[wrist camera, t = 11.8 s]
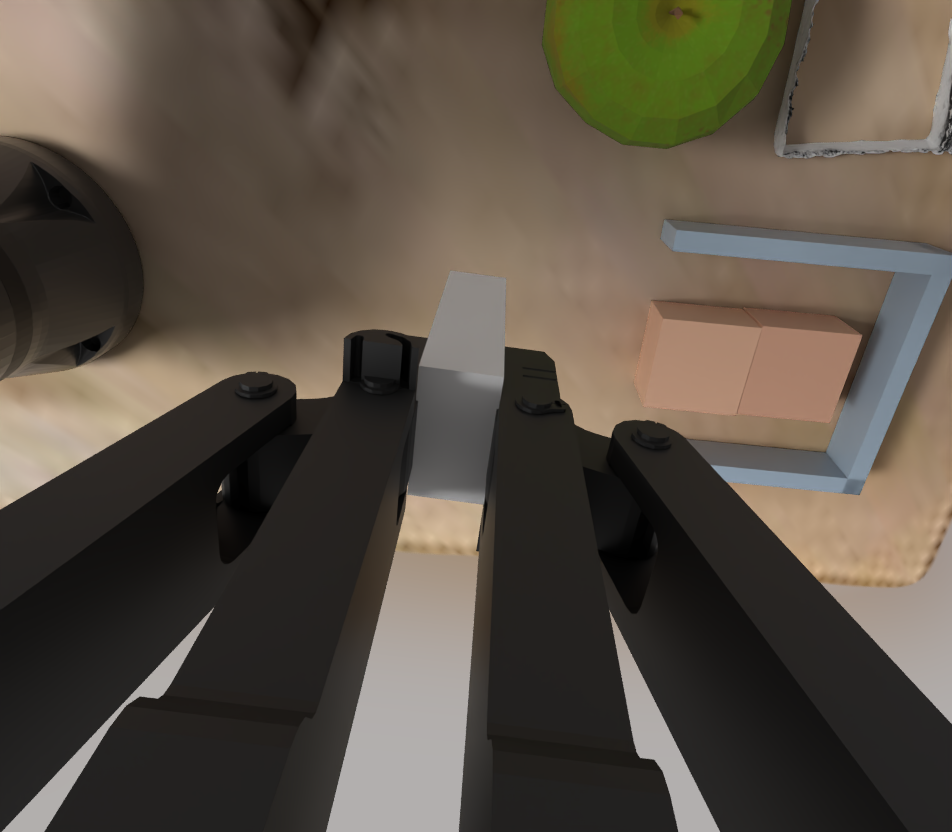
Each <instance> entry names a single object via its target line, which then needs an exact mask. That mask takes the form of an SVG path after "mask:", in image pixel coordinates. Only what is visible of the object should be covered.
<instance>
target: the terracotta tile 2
mask: <svg viewBox="0 0 952 832" xmlns="http://www.w3.org/2000/svg"><path fill="white" fill-rule="evenodd" d="M743 310H744V311H745V312H746V313H747V314H748V315H749V316H750V317H751V318H752V319H753V320H754V321H755V322H756V323H757V324H758V325H759V326H760V327H761V328H762V330H761V333H760V337H759V340H758V343H757V347H756V350H755V353H754V356H753V360H752V363H751V366H750V370H749V373H748V376H747V380H746V383H745V386H744V390H743V393H742V396H741V400H740V403H739V406H738V410H737V413H736V414H741V415H751V416H762V417H772V418H783V419H793V420H803V421H814V422H824V423H830V421H831V419H832V416H833V413H834V411H835V408H836V405H837V403H838V400H839V397H840V395H841V392H842V389H843V387H844V384H845V381H846V379H847V376H848V373H849V371H850V368H851V365H852V363H853V360H854V357H855V355H856V352H857V349H858V347H859V344H860V341H861V338H862V336H863V335H861V334H860V333H859V332H857V331H856V330H854V329H853V328H851V327H850V326H849V325H847V324H846V323H844V322H843V321H842V320H840V319H839V318H837V317H836V316H832V315H821V314H810V313H800V312H789V311H778V310H767V309H756V308H746V307H743Z"/></svg>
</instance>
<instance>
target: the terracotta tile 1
mask: <svg viewBox="0 0 952 832" xmlns="http://www.w3.org/2000/svg"><path fill="white" fill-rule="evenodd" d="M761 330H762V328H761V327H760V326H759V325H758V324H757V323H756V322H755V321H754V320H753V319H752V318H751V317H750V316H749V315H748V314H747V313H746V312H745V311H744V310H743V309H737V308H726V307H716V306H705V305H695V304H684V303H674V302H663V301H653V300H651V305H650V310H649V315H648V319H647V324H646V329H645V333H644V338H643V343H642V348H641V352H640V357H639V362H638V366H637V371H636V376H635V381H634V384H635V387H636V389H637V392H638V394H639V397H640V400H641V402H642V405H643V407H651V408H661V409H672V410H682V411H692V412H702V413H712V414H722V415H732V416H736V413H737V410H738V406H739V403H740V400H741V396H742V393H743V390H744V386H745V383H746V380H747V376H748V373H749V370H750V366H751V363H752V360H753V356H754V353H755V350H756V347H757V343H758V340H759V337H760V333H761Z"/></svg>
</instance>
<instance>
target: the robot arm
mask: <svg viewBox="0 0 952 832" xmlns="http://www.w3.org/2000/svg"><path fill="white" fill-rule="evenodd" d="M142 296H143V274H142V267H141V262H140V257H139V254H138V250H137V247H136V244H135V242H134V239H133V237H132V234H131V232H130V230H129V228H128V226H127V224H126V222H125V221H124V219H123V217H122V216H121V214H120V212H119V211H118V209H117V208H116V207H115V205H114V204H113V202H112V201H111V200H110V199H109V197H108V196H107V195H106V194H105V192H104V191H103V190H102V189H101V188H100V187H99V186H98V185H97V184H96V183H95V182H94V181H93V180H92V179H91V178H90V177H89V176H88V175H86V174H85V173H84V172H83V171H82V170H80V169H79V168H78V167H76V166H75V165H74V164H72V163H71V162H69V161H68V160H66V159H65V158H63V157H62V156H60V155H58V154H56V153H55V152H53V151H51V150H49V149H47V148H44V147H42V146H40V145H37V144H34V143H32V142H29V141H25V140H22V139H17V138H12V137H5V136H0V381H1V380H3V379H5V378H13V377H20V376H28V375H36V374H44V373H52V372H59V371H65V370H70V369H73V368H76V367H79V366H82V365H85V364H87V363H89V362H91V361H93V360H95V359H96V358H98V357H100V356H101V355H103V354H104V353H106V352H108V351H109V350H111V349H112V348H114V347H115V346H116V345H117V344H119V343H120V342H121V341H122V340H123V339H124V338H125V337H126V335H127V334H128V333H129V332H130V330H131V329H132V327H133V325H134V323H135V321H136V319H137V317H138V314H139V311H140V307H141V303H142ZM505 309H506V278H503V277H495V276H488V275H480V274H473V273H465V272H458V271H451V270H450V273H449V276H448V279H447V282H446V285H445V288H444V291H443V294H442V297H441V300H440V303H439V306H438V309H437V312H436V315H435V318H434V321H433V324H432V328H431V331H430V334H429V337H428V338H424V337H416V336H409V335H405V334H402V333H398V332H393V331H388V330H362V331H358V332H354V333H351V334H349V335H348V336H346V337H345V338H344V356H343V382H342V383H341V385H340V387H339V389H338V390H337V392H336V394H335V396H333V397H328V398H319V399H296V385H295V384H294V383H293V382H291V381H290V380H289V379H287V378H284V377H282V376H279V375H274V374H268V373H267V372H258V373H256V372H247V373H245V374H241V375H235V376H232V377H229V378H227V379H224V380H222V381H220V382H219V383H217V384H215V385H214V386H212V387H210V388H208V389H207V390H205V391H203V392H202V393H200V394H198V395H196V396H195V397H193V398H191V399H190V400H188V401H186V402H184V403H183V404H181V405H179V406H178V407H176V408H174V409H172V410H171V411H169V412H167V413H166V414H164V415H162V416H160V417H159V418H157V419H155V420H153V421H152V422H150V423H148V424H147V425H145V426H143V427H141V428H140V429H138V430H136V431H135V432H133V433H131V434H129V435H128V436H126V437H124V438H123V439H121V440H119V441H117V442H116V443H114V444H112V445H111V446H109V447H107V448H105V449H104V450H102V451H100V452H99V453H97V454H95V455H93V456H92V457H90V458H88V459H87V460H85V461H83V462H81V463H80V464H78V465H76V466H75V467H73V468H71V469H69V470H68V471H66V472H64V473H63V474H61V475H59V476H57V477H56V478H54V479H52V480H51V481H49V482H47V483H45V484H44V485H42V486H40V487H39V488H37V489H35V490H33V491H32V492H30V493H28V494H26V495H25V496H23V497H21V498H20V499H18V500H16V501H14V502H13V503H11V504H9V505H8V506H6V507H4V508H2V509H1V510H0V832H2V831H3V830H4V829H5V827H6V826H7V825H8V824H9V823H10V822H11V821H12V820H13V819H14V818H15V817H16V816H17V815H18V814H19V813H20V811H22V810H23V808H24V807H25V806H26V805H27V804H28V803H29V802H30V801H31V800H32V799H33V798H34V797H35V796H36V795H37V794H38V792H40V791H41V789H42V788H43V787H44V786H45V785H46V784H47V783H48V782H49V781H50V780H51V779H52V778H53V777H54V776H55V775H56V774H57V772H58V771H59V770H60V769H61V768H62V767H63V766H64V765H65V764H66V763H67V762H68V761H69V760H70V759H71V758H72V757H73V756H74V755H75V754H76V752H77V751H78V750H79V749H80V748H81V747H82V746H83V745H84V744H85V743H86V742H87V741H88V740H89V738H91V737H92V735H93V734H94V733H95V732H96V731H97V730H98V729H99V728H100V727H101V726H102V725H103V724H104V723H105V721H107V720H108V718H110V716H111V715H112V714H113V713H114V712H115V711H116V710H117V709H118V708H119V707H120V706H121V705H122V703H124V702H125V700H127V699H128V697H129V696H130V695H131V694H132V693H133V692H134V691H135V690H136V689H137V688H138V687H139V686H140V685H141V684H142V683H143V682H144V681H145V679H146V678H147V677H148V676H149V675H150V674H151V673H152V672H153V671H154V670H155V669H156V668H157V667H158V666H159V665H160V664H161V662H162V661H163V660H164V659H165V658H166V657H167V656H168V655H169V654H170V653H171V652H172V651H173V650H174V649H175V648H176V647H177V646H178V645H179V644H180V642H181V641H182V640H183V639H184V638H185V637H186V636H187V635H188V634H189V633H190V632H191V631H192V630H193V629H194V628H195V627H196V626H197V625H198V623H199V622H200V621H201V620H202V619H203V618H204V617H205V616H206V615H207V614H208V613H209V612H210V611H211V610H212V609H213V608H214V609H213V611H212V613H211V614H210V616H209V618H208V620H207V622H206V623H205V625H204V627H203V629H202V630H201V632H200V634H199V636H198V637H197V639H196V641H195V643H194V644H193V646H192V648H191V650H190V651H189V653H188V655H187V657H186V658H185V660H184V662H183V664H182V666H181V668H180V669H179V671H178V673H177V674H176V676H175V678H174V680H173V681H172V683H171V685H170V686H169V688H168V689H167V691H166V692H165V693H164V695H163V696H161V697H160V698H158V699H155V698H147V697H139V698H137V699H136V700H134V701H133V702H131V703H130V704H128V705H127V706H126V707H125V708H124V709H123V711H122V712H121V713H120V714H119V716H118V717H117V719H116V720H115V721H114V722H113V724H112V725H111V726H110V728H109V729H108V731H107V733H106V734H105V736H104V737H103V739H102V740H101V742H100V744H99V745H98V747H97V749H96V750H95V752H94V753H93V755H92V757H91V758H90V760H89V761H88V763H87V765H86V766H85V768H84V769H83V771H82V773H81V774H80V776H79V777H78V779H77V781H76V782H75V784H74V785H73V787H72V789H71V790H70V792H69V793H68V795H67V797H66V798H65V800H64V801H63V803H62V805H61V806H60V808H59V809H58V811H57V813H56V814H55V816H54V817H53V819H52V821H51V822H50V824H49V825H48V827H47V829H46V830H45V832H326V829H327V825H328V821H329V817H330V813H331V808H332V805H333V801H334V797H335V792H336V789H337V785H338V780H339V776H340V772H341V768H342V764H343V760H344V756H345V752H346V748H347V744H348V740H349V735H350V731H351V728H352V723H353V719H354V715H355V711H356V707H357V703H358V699H359V695H360V691H361V687H362V683H363V679H364V675H365V670H366V666H367V662H368V658H369V654H370V650H371V646H372V642H373V637H374V634H375V630H376V626H377V622H378V617H379V614H380V609H381V605H382V601H383V597H384V593H385V589H386V585H387V581H388V577H389V573H390V569H391V565H392V560H393V557H394V552H395V548H396V544H397V540H398V536H399V532H400V528H401V524H402V520H403V516H404V512H405V504H406V493H407V485H408V494H407V495H414V496H421V497H429V498H437V499H444V500H452V501H460V502H468V503H475V504H483V512H482V518H481V525H480V531H479V537H478V544H477V550H476V551H479V559H478V573H477V587H476V601H475V615H474V630H473V643H472V656H471V670H470V684H469V699H468V713H467V726H466V741H465V754H464V768H463V783H462V797H461V809H460V824H459V832H678V829H677V824H676V820H675V815H674V811H673V806H672V802H671V797H670V794H669V791H668V787H667V784H666V781H665V778H664V775H663V772H662V770H661V769H660V767H659V766H658V765H657V763H656V762H655V760H652V759H643V758H640V757H639V756H638V754H637V752H636V749H635V745H634V742H633V736H632V731H631V726H630V720H629V715H628V709H627V704H626V698H625V693H624V688H623V682H622V678H621V671H620V666H619V661H618V656H617V650H616V645H615V639H614V634H613V628H612V623H611V618H610V612H611V614H612V616H613V618H614V620H615V622H616V624H617V626H618V628H619V630H620V632H621V634H622V636H623V638H624V640H625V642H626V644H627V646H628V648H629V650H630V652H631V654H632V656H633V658H634V660H635V662H636V664H637V666H638V668H639V670H640V672H641V674H642V676H643V678H644V680H645V682H646V684H647V686H648V688H649V690H650V692H651V694H652V696H653V698H654V700H655V702H656V704H657V706H658V708H659V710H660V712H661V714H662V716H663V718H664V720H665V722H666V724H667V726H668V728H669V730H670V732H671V734H672V736H673V738H674V740H675V742H676V744H677V746H678V748H679V750H680V752H681V754H682V756H683V758H684V760H685V762H686V764H687V766H688V768H689V770H690V772H691V774H692V776H693V778H694V780H695V782H696V784H697V786H698V788H699V790H700V792H701V794H702V796H703V798H704V800H705V802H706V804H707V806H708V808H709V810H710V812H711V814H712V816H713V818H714V820H715V822H716V824H717V826H718V828H719V830H720V832H952V724H951V723H950V722H949V721H948V720H947V719H946V718H945V717H944V715H943V714H942V713H941V712H940V711H939V710H938V709H937V708H936V707H935V706H934V705H933V704H932V702H930V700H929V699H928V698H927V697H926V696H925V695H924V694H923V693H922V692H921V691H920V690H919V689H918V688H917V686H916V685H915V684H914V683H913V682H912V681H911V680H910V679H909V678H908V677H907V676H906V675H905V674H904V672H902V670H901V669H900V668H899V667H898V666H897V665H896V664H895V663H894V662H893V661H892V660H891V658H889V657H888V655H887V654H886V653H885V652H884V651H883V650H882V649H881V648H880V647H879V646H878V645H877V643H876V642H875V641H874V640H873V639H872V638H871V637H870V636H869V635H868V634H867V633H866V632H865V631H864V630H863V629H862V628H861V626H860V625H859V624H858V623H857V622H856V621H855V620H854V619H853V618H852V617H851V616H850V615H849V613H848V612H847V611H846V610H845V609H844V608H843V607H842V606H841V605H840V604H839V603H838V602H837V601H836V599H834V597H833V596H832V595H831V594H830V593H829V592H828V591H827V590H826V589H825V588H824V587H823V585H822V584H821V583H820V582H819V581H818V580H817V579H816V578H815V577H814V576H813V575H812V574H811V573H810V572H809V570H808V569H807V568H806V567H805V566H804V565H803V564H802V563H801V562H800V561H799V560H798V559H797V558H796V556H795V555H794V554H793V553H792V552H791V551H790V550H789V549H788V548H787V547H786V546H785V545H784V544H783V543H782V541H781V540H780V539H779V538H778V537H777V536H776V535H775V534H774V533H773V532H772V531H771V530H770V529H769V527H768V526H767V525H766V524H765V523H764V522H763V521H762V520H761V519H760V518H759V517H758V516H757V515H756V514H755V512H754V511H753V510H752V509H751V508H750V507H749V506H748V505H747V504H746V503H745V502H744V501H743V500H742V499H741V497H740V496H739V495H738V494H737V493H736V492H735V491H734V490H733V489H732V488H731V487H730V486H729V485H728V483H727V482H726V481H725V480H724V479H723V478H722V477H721V476H720V475H719V474H718V473H717V472H716V471H715V470H714V468H713V467H712V466H711V465H710V464H709V463H708V462H707V461H706V460H705V459H704V458H703V457H702V456H701V454H700V453H699V452H698V451H697V450H696V449H695V448H694V447H693V446H692V445H691V444H690V443H689V442H688V441H687V439H685V438H684V437H683V436H682V435H680V434H679V433H678V432H676V431H674V430H672V429H670V428H668V427H666V426H665V425H664V424H661V423H658V422H657V424H656V423H655V422H654V421H649V420H646V421H639V420H632V421H623V422H621V423H619V424H617V425H616V426H615V428H614V430H613V432H612V436H611V438H608V437H605V436H602V435H598V434H595V433H592V432H590V431H587V430H584V429H582V428H580V427H578V426H576V425H575V424H574V419H573V413H572V410H571V408H570V407H569V405H568V404H567V403H566V402H564V401H563V400H561V399H560V393H559V387H558V381H557V375H556V368H555V362H554V361H553V360H552V359H551V358H550V357H549V356H548V355H547V354H546V353H545V352H542V351H534V350H527V349H519V348H511V347H505ZM408 481H409V483H408ZM221 484H222V490H221V491H220V492H219V493H218V494H217V492H218V490H219V488H220V485H221ZM215 605H216V606H215ZM609 610H610V612H609Z"/></svg>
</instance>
